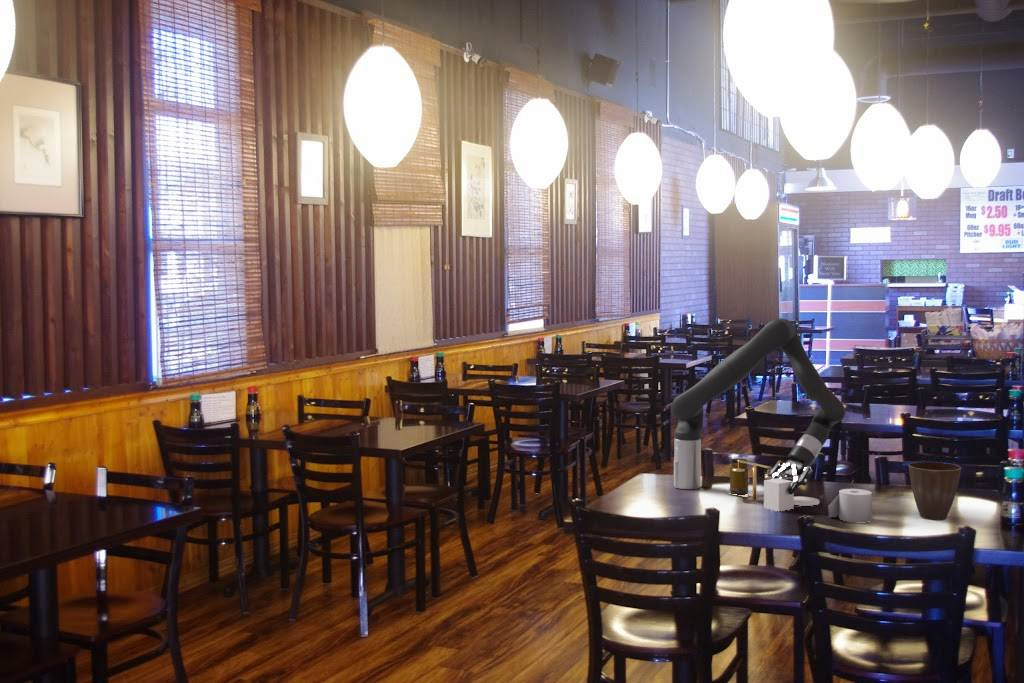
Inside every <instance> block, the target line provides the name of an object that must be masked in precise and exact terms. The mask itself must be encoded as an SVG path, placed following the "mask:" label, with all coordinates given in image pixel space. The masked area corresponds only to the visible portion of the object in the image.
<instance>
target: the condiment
mask: <svg viewBox="0 0 1024 683" xmlns="http://www.w3.org/2000/svg"><path fill="white" fill-rule="evenodd" d="M738 460H742V461H746V462H748V460H747V459H746V458H731V461H730V462H731V464H730V465H731V466H730V469H729V493H731V494H737V495H745V494H748V493H749V468H748V464H745V463H741V462H739V468H742V469H745V471H744V472H735V471H732V469H733V468H738Z"/></svg>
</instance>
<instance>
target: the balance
mask: <svg viewBox="0 0 1024 683" xmlns="http://www.w3.org/2000/svg"><path fill="white" fill-rule="evenodd" d="M739 462H741V463H745V464H747V465H750V466H751V465H752V494H753V496H750V497H740V500H741V499H742V500H741V501H743V502H759V503H758V504H764V496H757V495H756V494H757V469H758V468H757V467H760V468H764V469H767V471H766V472H767V473H766V474H765V475H764V478H765V479H767V480H770V479H772V477H771V475H770V474H769V473H770V471H771V470H772V469H773V467H772V466H768V465H764V464H759V463H755V462H749V461H747V462H746V461H742V460H738V468H733V469H732V471H735V472H744V471H745V469H742V468H739ZM775 473H776V471H775V472H774V474H775ZM743 502H742V503H743ZM760 502H761V503H760Z"/></svg>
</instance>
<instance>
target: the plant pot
mask: <svg viewBox="0 0 1024 683" xmlns="http://www.w3.org/2000/svg"><path fill="white" fill-rule="evenodd" d="M961 471H962V466H960V465H957V464H955V463H949V462H941V461H940V462H939V461H914V462H910V463H908V473H909V479H910V485H911V490H912V493H913V494H912V495H913V498H914V502H915V505H916V508H917V510H918V513H919V516H920V517H921V518H923V519H926V520H933V521H944V520H947V517H948V515H949V513H950V511H951V508H952V505H953V503H954V500H955V497H956V493H957V491H958V490H957V489H958V487H959V482H960V477H961Z"/></svg>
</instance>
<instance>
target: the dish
mask: <svg viewBox="0 0 1024 683" xmlns="http://www.w3.org/2000/svg"><path fill="white" fill-rule="evenodd" d="M818 504H819V505H820V499H818V498H816V497H810V496H809V497H808V496H797V495H796V496H794V505H799V506H798V507H801V506H811V507H814V506H813V505H817V506H819V505H818Z"/></svg>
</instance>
